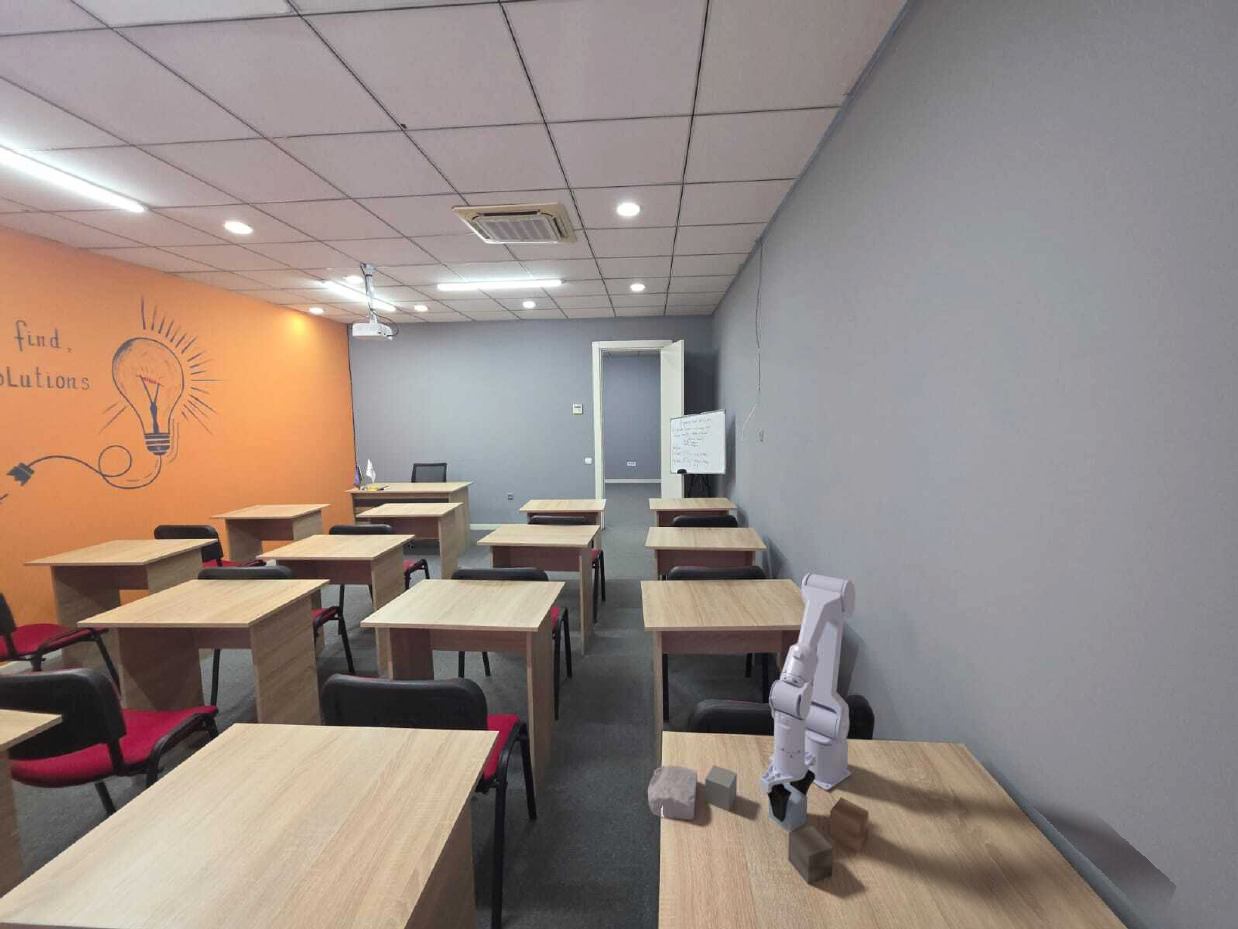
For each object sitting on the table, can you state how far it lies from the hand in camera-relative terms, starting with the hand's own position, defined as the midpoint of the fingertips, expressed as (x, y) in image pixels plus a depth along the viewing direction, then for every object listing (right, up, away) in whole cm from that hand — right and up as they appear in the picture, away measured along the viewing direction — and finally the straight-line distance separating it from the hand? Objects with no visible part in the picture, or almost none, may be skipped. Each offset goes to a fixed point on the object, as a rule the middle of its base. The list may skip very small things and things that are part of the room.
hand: (787, 811), depth 95 cm
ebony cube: (0, -2, -11) cm, 11 cm away
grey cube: (-12, -1, +5) cm, 13 cm away
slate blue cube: (0, -1, 0) cm, 1 cm away
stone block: (-22, -2, +6) cm, 23 cm away
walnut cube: (+10, -2, -4) cm, 11 cm away
